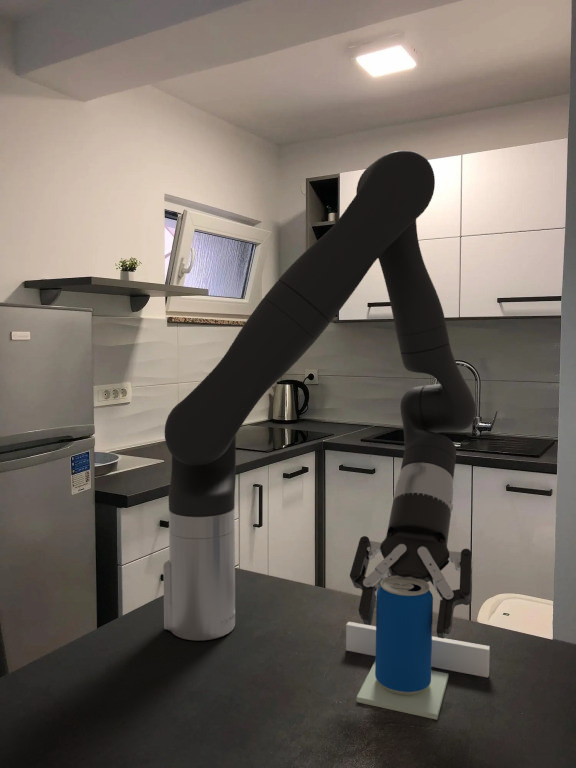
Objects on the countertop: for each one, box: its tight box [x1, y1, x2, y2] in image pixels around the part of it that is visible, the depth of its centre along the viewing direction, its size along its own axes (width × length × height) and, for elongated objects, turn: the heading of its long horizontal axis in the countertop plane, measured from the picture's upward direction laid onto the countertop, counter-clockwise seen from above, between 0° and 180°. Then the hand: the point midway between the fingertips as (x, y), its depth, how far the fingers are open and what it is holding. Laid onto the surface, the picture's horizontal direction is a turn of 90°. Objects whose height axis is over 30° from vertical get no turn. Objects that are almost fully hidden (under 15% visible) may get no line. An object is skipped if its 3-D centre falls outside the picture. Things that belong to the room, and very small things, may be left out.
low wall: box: [345, 621, 491, 678], centre depth 81 cm, size 18×1×4 cm, turn 68°
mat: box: [356, 661, 449, 720], centre depth 74 cm, size 9×9×1 cm
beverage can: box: [374, 576, 434, 695], centre depth 74 cm, size 6×6×12 cm
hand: (402, 629), depth 73 cm, fingers open, 8 cm apart
